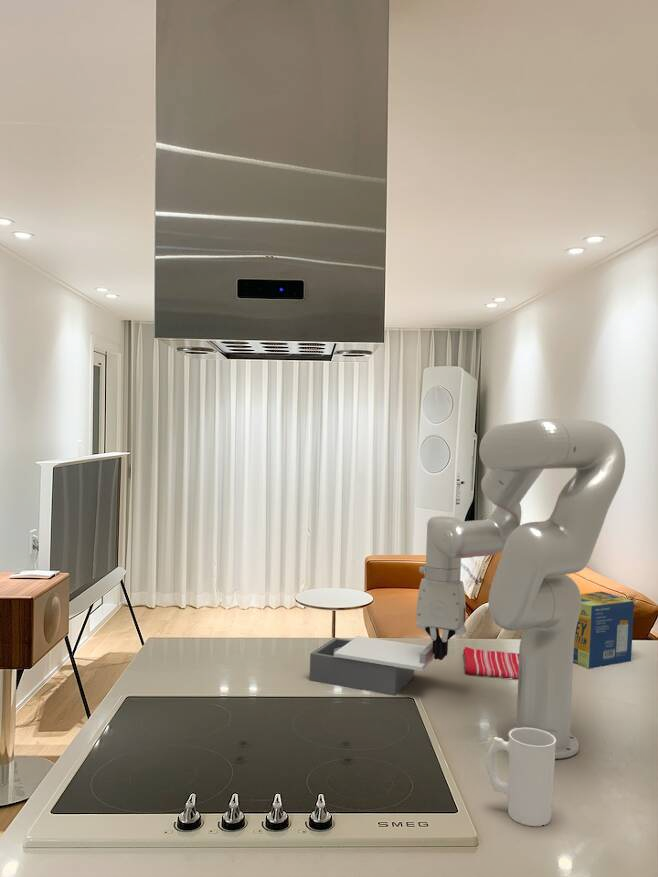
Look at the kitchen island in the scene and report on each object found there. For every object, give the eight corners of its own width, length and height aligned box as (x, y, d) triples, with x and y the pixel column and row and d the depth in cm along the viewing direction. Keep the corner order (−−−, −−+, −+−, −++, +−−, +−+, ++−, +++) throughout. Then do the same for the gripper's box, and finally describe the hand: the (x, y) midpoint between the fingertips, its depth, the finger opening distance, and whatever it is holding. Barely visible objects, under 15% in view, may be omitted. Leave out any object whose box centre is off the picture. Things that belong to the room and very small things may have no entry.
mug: (555, 810, 116) (558, 732, 115) (550, 832, 109) (553, 749, 109) (488, 796, 119) (491, 720, 119) (480, 816, 113) (483, 736, 113)
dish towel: (462, 655, 193) (463, 645, 193) (559, 663, 189) (559, 652, 189) (462, 677, 176) (462, 666, 176) (568, 686, 172) (569, 675, 172)
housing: (394, 695, 162) (395, 667, 162) (309, 680, 170) (310, 653, 169) (413, 675, 175) (414, 649, 174) (333, 662, 182) (334, 637, 182)
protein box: (556, 656, 192) (558, 596, 192) (600, 649, 200) (602, 591, 199) (588, 669, 183) (590, 605, 183) (632, 661, 190) (635, 600, 190)
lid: (421, 670, 159) (422, 657, 159) (333, 656, 167) (334, 644, 167) (440, 651, 173) (440, 639, 172) (357, 639, 180) (358, 627, 180)
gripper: (404, 573, 164) (401, 657, 165) (473, 581, 158) (469, 668, 159) (414, 567, 171) (411, 648, 172) (480, 575, 165) (477, 658, 166)
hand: (439, 657), depth 165 cm, fingers closed
